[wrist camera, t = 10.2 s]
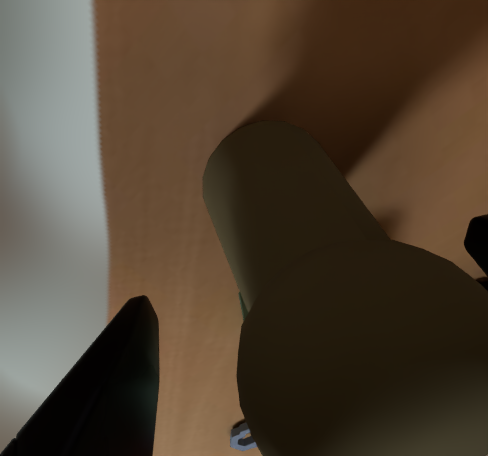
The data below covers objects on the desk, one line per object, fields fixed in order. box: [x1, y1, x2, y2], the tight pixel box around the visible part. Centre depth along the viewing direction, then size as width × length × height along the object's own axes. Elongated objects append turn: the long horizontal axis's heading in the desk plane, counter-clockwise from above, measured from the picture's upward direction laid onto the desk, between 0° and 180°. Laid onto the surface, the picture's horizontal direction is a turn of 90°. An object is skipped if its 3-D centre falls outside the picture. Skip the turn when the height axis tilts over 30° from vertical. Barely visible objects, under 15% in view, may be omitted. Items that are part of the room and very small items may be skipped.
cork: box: [203, 121, 488, 456], centre depth 9 cm, size 6×6×11 cm
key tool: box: [230, 422, 257, 451], centre depth 24 cm, size 12×1×5 cm
